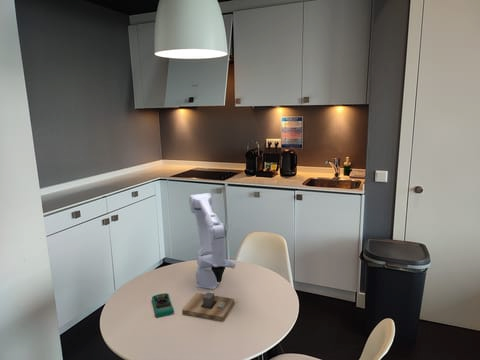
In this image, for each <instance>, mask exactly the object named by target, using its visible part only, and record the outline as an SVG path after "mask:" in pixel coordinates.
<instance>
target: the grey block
mask: <svg viewBox="0 0 480 360" xmlns="http://www.w3.org/2000/svg"><path fill="white" fill-rule="evenodd" d="M204 294H205V296H204V297H203V308H208V309H212V308H213V307H214V305H215V300H214V296H215V293H214V292H207V291H206V293H204Z"/></svg>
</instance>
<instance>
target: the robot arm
mask: <svg viewBox="0 0 480 360" xmlns="http://www.w3.org/2000/svg"><path fill="white" fill-rule="evenodd" d="M188 198H189V201H188V202H189V209H190V212H191V213H192V214H193V215H194V216H195V219H196V224H197V231H198V236H199V241H200V249H198V251H197V252H196V262H197V267H196V269H195V282H196V285H195V287H197V288H203V289H209V290H215V289H216V287H218V285H219V284H220V283H221V282H222V280H223V275H224V271H225V269H226V268H231V269H232V270H233V269H235V268H236V262H232V261H230V260H227V259H226V249H225V248H226V242H225V238H227V227H226V224H224V223H223V222H221V221H220V219H219V217H218V214H216V213H215V212H213V208H212V203H213V199H212V194H211V193H210V192H207V193H197V194H190V195H189V197H188Z"/></svg>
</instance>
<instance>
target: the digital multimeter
mask: <svg viewBox="0 0 480 360" xmlns="http://www.w3.org/2000/svg"><path fill="white" fill-rule="evenodd" d="M151 301H152V304H153V307H154V313H155V317H156V318H160V317H165V316H169V315H170V316H171V315H173V314H175V309H174V307H173V305H172V302H171V299H170V294H169V293H158V294H154V295H153V296H151Z"/></svg>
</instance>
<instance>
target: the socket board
mask: <svg viewBox="0 0 480 360" xmlns="http://www.w3.org/2000/svg"><path fill="white" fill-rule="evenodd" d="M205 294H206V293H201V292H200V293H199V292H196V293H195V294H194V295H193V296H192V298H191V299H189V301H188V302H187V303H186V305H184V307H183V308H182V309H181V314H182V315H186V316H192V317H198V318H202V319H208V320H214V321H219V322H224V321H225V319H226V317H227V316H228V314H229V313H230V311H231V310H232V307H233V306H234V305H235V298H231V297H224V296H219V295H214V300H215V305H214V307H213V308H212V309H208V308H203V297H204V296H205Z"/></svg>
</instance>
